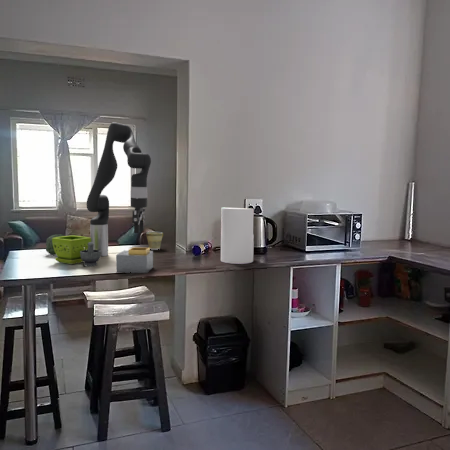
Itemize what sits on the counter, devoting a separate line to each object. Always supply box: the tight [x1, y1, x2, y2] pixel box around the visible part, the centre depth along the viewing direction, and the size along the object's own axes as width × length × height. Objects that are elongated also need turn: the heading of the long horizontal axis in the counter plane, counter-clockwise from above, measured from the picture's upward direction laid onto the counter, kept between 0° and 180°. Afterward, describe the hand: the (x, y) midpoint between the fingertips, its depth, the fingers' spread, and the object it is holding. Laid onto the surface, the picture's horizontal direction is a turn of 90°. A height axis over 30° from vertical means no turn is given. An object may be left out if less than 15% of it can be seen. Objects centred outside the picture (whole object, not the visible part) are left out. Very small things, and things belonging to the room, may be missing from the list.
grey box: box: [115, 246, 154, 274], centre depth 209 cm, size 14×13×10 cm
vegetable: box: [45, 233, 65, 256], centre depth 247 cm, size 12×13×15 cm
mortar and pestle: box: [80, 242, 101, 267], centre depth 218 cm, size 11×9×12 cm
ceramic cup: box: [145, 231, 164, 251], centre depth 271 cm, size 13×10×10 cm
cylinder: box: [220, 206, 255, 265], centre depth 235 cm, size 17×17×28 cm
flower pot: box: [52, 235, 91, 265], centre depth 225 cm, size 14×14×13 cm
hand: (138, 231), depth 207 cm, fingers open, 8 cm apart
